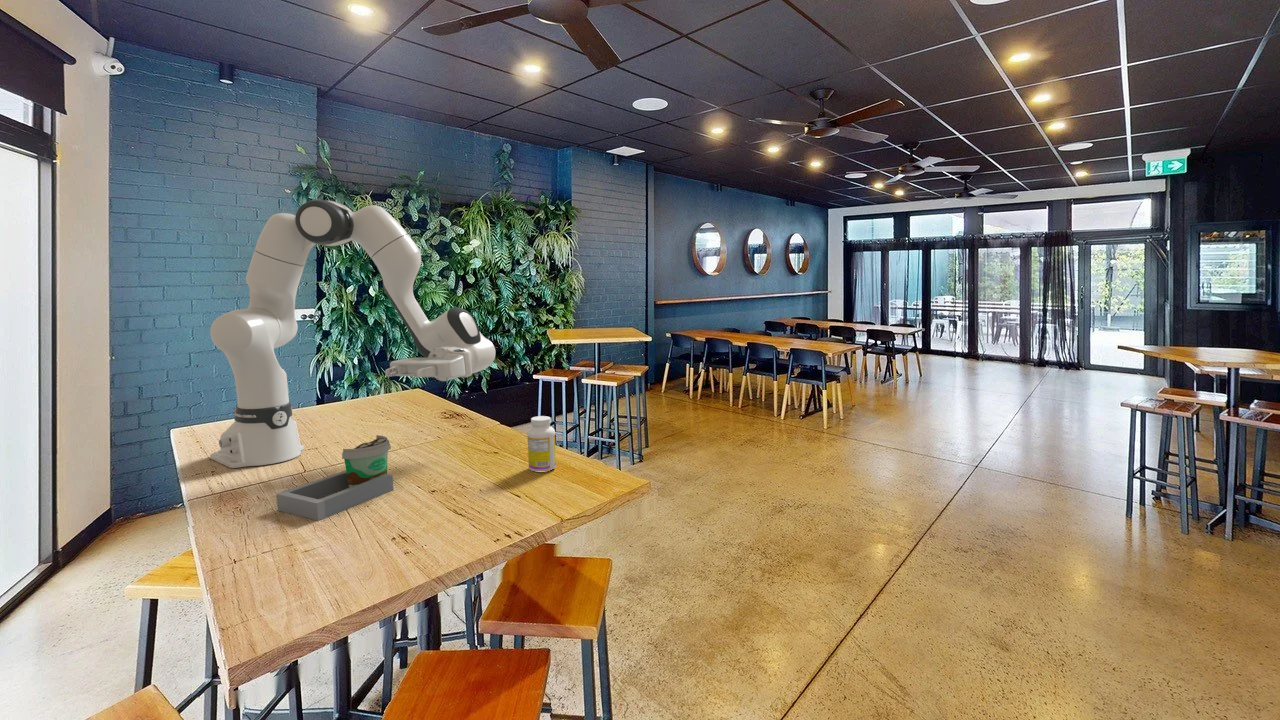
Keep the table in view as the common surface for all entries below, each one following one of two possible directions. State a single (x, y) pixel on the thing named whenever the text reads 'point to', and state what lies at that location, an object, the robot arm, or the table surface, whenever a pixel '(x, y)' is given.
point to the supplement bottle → (541, 444)
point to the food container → (366, 461)
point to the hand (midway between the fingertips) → (401, 373)
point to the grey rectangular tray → (307, 495)
